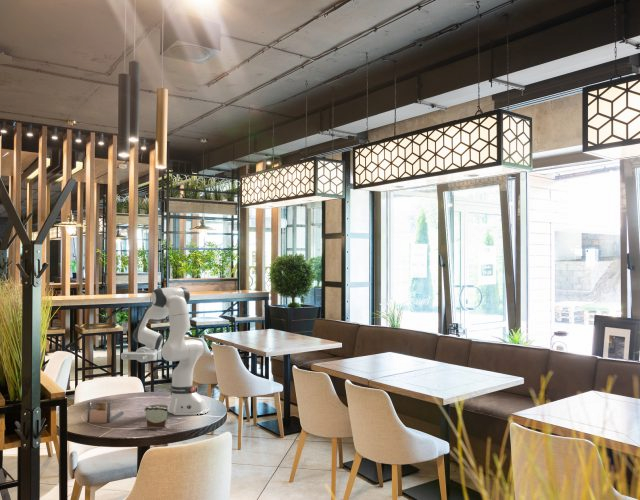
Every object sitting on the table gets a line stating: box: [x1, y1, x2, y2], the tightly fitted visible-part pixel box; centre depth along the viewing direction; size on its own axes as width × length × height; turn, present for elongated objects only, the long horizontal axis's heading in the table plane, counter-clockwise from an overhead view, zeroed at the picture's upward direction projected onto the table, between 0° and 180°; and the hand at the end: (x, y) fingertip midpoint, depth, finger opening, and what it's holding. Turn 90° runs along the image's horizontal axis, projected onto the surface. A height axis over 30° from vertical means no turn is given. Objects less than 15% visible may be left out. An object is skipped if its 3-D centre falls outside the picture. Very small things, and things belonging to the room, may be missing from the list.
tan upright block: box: [95, 400, 111, 410], centre depth 286 cm, size 5×5×9 cm
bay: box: [86, 401, 124, 424], centre depth 290 cm, size 12×17×10 cm
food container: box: [144, 403, 169, 429], centre depth 277 cm, size 12×6×10 cm, turn 84°
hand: (133, 357), depth 320 cm, fingers open, 8 cm apart
